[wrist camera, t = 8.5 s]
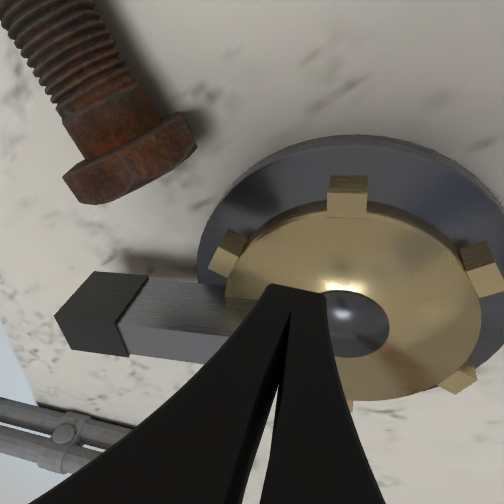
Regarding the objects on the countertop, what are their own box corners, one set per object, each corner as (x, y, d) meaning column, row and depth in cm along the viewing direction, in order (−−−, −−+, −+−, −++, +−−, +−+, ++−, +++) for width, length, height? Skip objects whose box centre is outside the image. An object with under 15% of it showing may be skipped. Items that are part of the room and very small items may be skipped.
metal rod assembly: (249, 448, 33) (232, 514, 29) (250, 465, 35) (234, 529, 31) (-13, 384, 38) (-57, 433, 34) (-2, 401, 40) (-43, 449, 36)
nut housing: (592, 166, 15) (612, 186, 14) (447, 400, 24) (451, 425, 23) (205, 110, 17) (191, 122, 16) (207, 342, 26) (198, 362, 25)
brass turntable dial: (526, 177, 14) (569, 240, 11) (456, 403, 21) (469, 479, 18) (63, 173, 19) (1, 216, 16) (137, 358, 26) (104, 412, 23)
